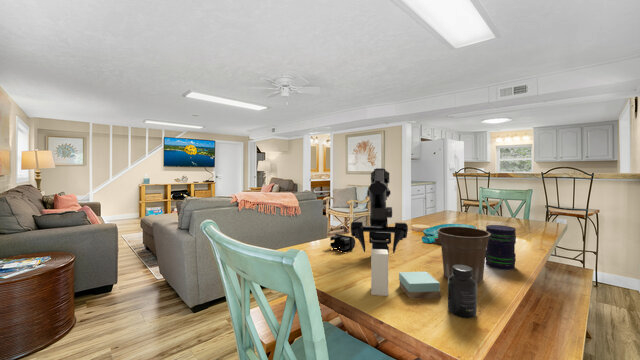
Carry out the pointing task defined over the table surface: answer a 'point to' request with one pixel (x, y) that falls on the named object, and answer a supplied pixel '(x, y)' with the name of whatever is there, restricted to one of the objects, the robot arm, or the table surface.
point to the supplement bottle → (462, 292)
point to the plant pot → (464, 249)
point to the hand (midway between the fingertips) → (379, 252)
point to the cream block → (379, 272)
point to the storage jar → (501, 247)
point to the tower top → (419, 282)
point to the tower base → (421, 293)
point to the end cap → (342, 242)
